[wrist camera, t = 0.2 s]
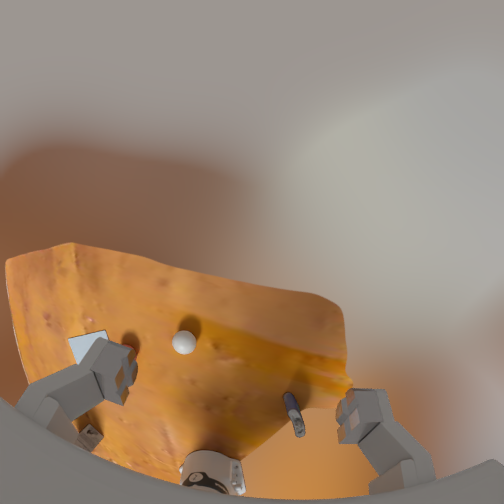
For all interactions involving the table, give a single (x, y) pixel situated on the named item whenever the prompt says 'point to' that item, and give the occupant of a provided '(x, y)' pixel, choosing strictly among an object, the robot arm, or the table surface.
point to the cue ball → (184, 342)
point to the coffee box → (88, 438)
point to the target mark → (84, 344)
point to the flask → (294, 414)
